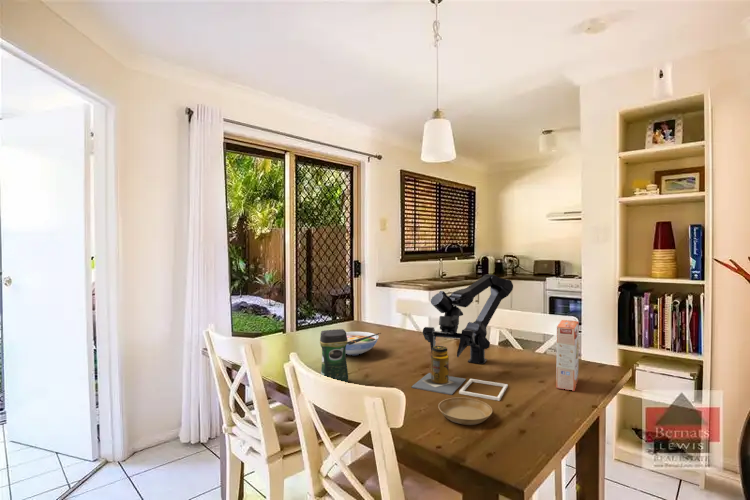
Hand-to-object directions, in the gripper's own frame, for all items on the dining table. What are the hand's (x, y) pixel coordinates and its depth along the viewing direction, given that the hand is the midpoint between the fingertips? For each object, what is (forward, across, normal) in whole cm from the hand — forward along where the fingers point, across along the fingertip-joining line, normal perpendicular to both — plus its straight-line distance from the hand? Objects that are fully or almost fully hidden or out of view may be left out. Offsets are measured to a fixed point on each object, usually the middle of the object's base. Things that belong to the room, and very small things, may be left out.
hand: (444, 355), depth 141 cm
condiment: (+10, -1, 0) cm, 11 cm away
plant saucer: (+27, +13, -15) cm, 33 cm away
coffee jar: (+20, -35, -8) cm, 41 cm away
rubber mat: (+11, 0, 0) cm, 11 cm away
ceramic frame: (+11, +15, 0) cm, 18 cm away
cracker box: (0, +40, +12) cm, 42 cm away
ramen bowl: (-6, -45, +17) cm, 49 cm away
